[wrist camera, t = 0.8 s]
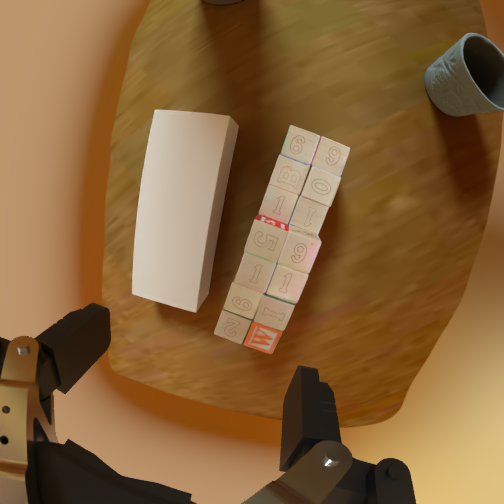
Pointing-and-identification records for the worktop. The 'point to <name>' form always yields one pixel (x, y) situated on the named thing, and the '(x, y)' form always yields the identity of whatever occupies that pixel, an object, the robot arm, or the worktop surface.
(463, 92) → the blue cup
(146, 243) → the block
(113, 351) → the worktop surface
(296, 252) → the stack of blocks
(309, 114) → the worktop surface
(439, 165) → the worktop surface
